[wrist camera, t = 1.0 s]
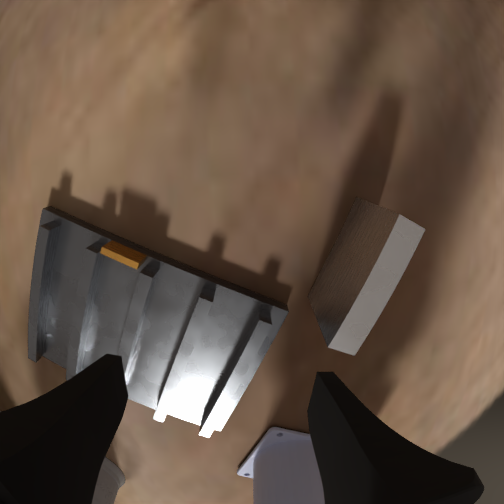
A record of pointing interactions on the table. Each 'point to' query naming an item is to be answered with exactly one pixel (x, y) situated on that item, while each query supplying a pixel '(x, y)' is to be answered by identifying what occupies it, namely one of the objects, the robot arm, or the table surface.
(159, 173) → the table surface
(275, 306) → the rack
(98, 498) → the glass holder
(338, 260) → the panel
